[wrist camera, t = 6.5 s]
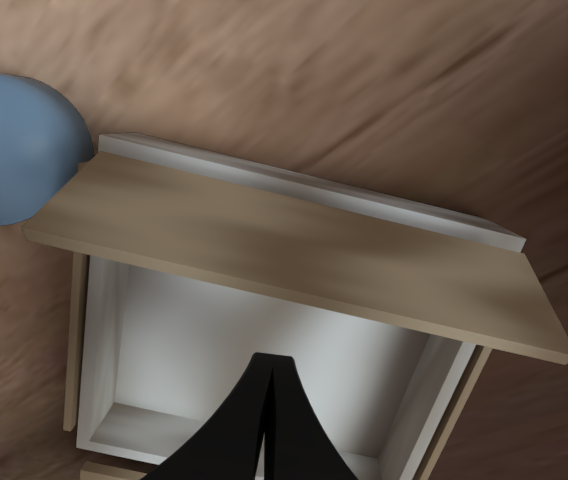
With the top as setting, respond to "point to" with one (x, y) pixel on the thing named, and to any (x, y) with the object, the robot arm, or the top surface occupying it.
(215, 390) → the carton
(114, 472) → the flap
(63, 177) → the blue pebble
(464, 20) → the top surface
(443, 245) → the flap
